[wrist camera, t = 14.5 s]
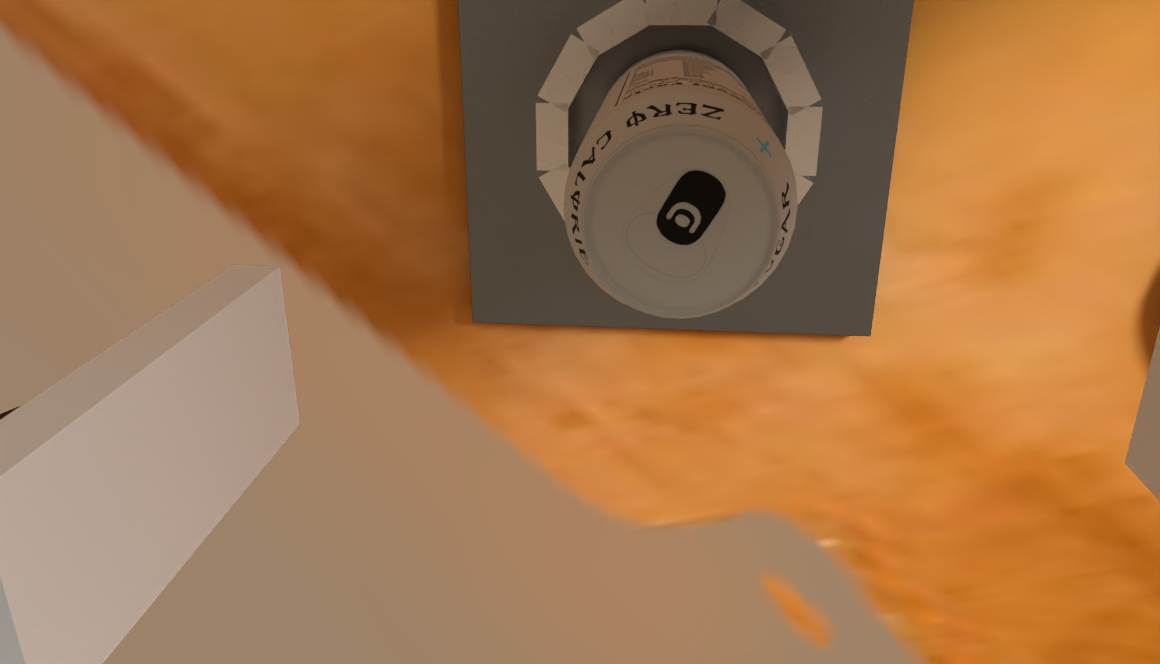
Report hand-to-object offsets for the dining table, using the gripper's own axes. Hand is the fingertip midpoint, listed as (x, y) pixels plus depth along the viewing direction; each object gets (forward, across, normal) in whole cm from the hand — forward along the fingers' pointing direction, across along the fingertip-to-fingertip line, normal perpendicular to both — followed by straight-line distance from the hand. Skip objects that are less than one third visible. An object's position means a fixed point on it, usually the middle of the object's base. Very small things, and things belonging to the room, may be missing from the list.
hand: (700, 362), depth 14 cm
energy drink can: (+24, 0, 0) cm, 24 cm away
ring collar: (+25, 0, 0) cm, 25 cm away
